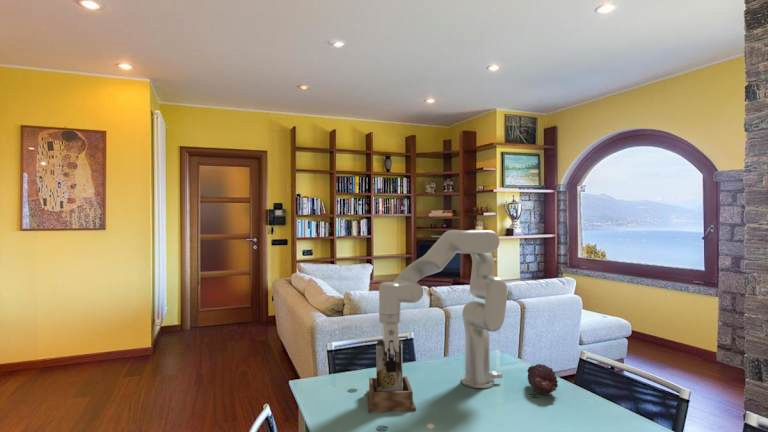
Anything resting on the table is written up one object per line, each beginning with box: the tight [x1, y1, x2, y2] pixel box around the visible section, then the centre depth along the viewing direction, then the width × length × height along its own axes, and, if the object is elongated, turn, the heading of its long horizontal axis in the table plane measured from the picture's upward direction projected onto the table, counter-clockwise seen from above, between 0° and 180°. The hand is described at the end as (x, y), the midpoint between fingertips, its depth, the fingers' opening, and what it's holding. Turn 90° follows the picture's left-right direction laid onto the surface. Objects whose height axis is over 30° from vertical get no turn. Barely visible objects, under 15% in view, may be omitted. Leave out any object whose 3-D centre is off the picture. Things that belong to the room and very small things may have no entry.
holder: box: [365, 376, 417, 414], centre depth 149 cm, size 16×16×6 cm
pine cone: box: [527, 363, 559, 396], centre depth 157 cm, size 18×10×10 cm, turn 4°
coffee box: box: [375, 339, 404, 391], centre depth 149 cm, size 9×6×16 cm
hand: (389, 367), depth 149 cm, fingers closed on coffee box, 7 cm apart
